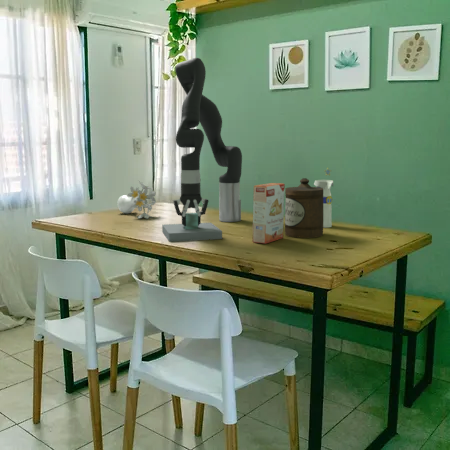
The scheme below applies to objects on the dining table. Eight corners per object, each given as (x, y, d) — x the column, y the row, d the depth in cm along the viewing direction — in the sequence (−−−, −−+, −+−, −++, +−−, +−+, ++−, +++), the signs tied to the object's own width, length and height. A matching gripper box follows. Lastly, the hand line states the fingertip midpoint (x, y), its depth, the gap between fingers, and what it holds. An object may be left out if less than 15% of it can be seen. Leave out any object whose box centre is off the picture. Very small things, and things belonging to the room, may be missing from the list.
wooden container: (278, 232, 221) (279, 177, 218) (311, 230, 226) (312, 176, 222) (295, 239, 207) (296, 180, 204) (330, 236, 212) (331, 179, 209)
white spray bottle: (337, 226, 235) (339, 167, 231) (323, 228, 230) (325, 168, 226) (322, 223, 241) (324, 166, 237) (308, 225, 236) (310, 167, 232)
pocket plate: (211, 229, 227) (210, 222, 227) (222, 238, 208) (222, 231, 208) (162, 231, 223) (162, 224, 222) (169, 241, 204) (168, 233, 203)
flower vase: (119, 227, 273) (142, 220, 253) (107, 191, 271) (129, 182, 251) (141, 220, 280) (165, 213, 260) (129, 185, 279) (153, 175, 259)
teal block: (196, 234, 218) (195, 212, 217) (198, 236, 214) (197, 214, 213) (184, 234, 217) (184, 213, 216) (186, 236, 213) (186, 214, 212)
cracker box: (266, 244, 198) (267, 186, 194) (251, 242, 201) (252, 185, 198) (284, 238, 209) (285, 182, 206) (270, 236, 213) (271, 182, 209)
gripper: (206, 180, 217) (207, 223, 220) (170, 181, 214) (171, 225, 217) (210, 182, 210) (211, 226, 213) (173, 183, 207) (174, 228, 210)
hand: (191, 225), depth 215 cm, fingers closed on teal block, 4 cm apart
